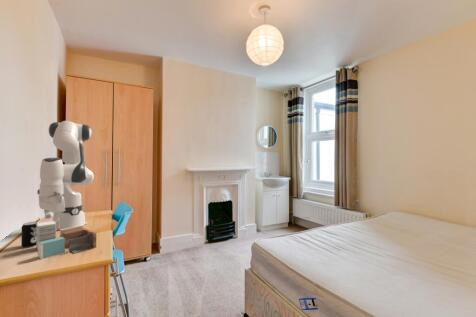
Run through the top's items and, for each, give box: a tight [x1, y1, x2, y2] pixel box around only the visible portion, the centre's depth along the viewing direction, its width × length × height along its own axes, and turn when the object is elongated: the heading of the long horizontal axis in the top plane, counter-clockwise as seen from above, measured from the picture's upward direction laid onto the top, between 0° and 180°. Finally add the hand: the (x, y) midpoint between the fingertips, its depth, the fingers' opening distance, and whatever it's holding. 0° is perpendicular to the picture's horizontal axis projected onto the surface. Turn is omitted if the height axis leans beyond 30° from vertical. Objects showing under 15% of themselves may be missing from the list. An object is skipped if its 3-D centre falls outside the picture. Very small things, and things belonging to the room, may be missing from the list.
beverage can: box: [20, 221, 38, 249], centre depth 118 cm, size 7×7×12 cm
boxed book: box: [37, 236, 66, 260], centre depth 107 cm, size 4×9×7 cm, turn 146°
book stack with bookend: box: [59, 225, 97, 254], centre depth 116 cm, size 18×10×9 cm, turn 56°
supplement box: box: [35, 220, 57, 251], centre depth 116 cm, size 7×7×13 cm
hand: (51, 219), depth 107 cm, fingers open, 8 cm apart
